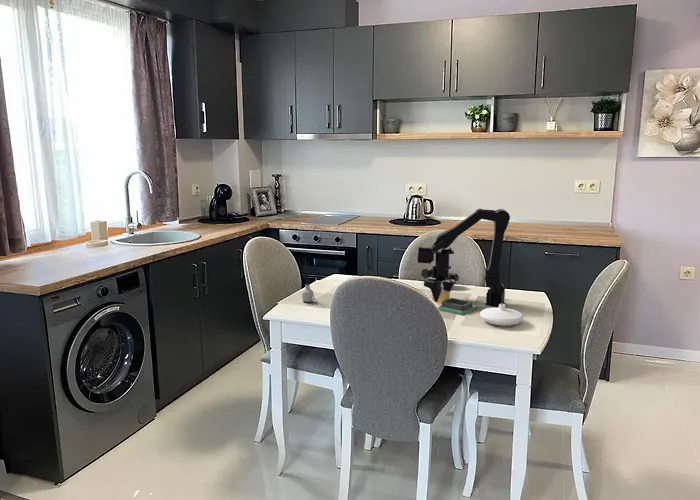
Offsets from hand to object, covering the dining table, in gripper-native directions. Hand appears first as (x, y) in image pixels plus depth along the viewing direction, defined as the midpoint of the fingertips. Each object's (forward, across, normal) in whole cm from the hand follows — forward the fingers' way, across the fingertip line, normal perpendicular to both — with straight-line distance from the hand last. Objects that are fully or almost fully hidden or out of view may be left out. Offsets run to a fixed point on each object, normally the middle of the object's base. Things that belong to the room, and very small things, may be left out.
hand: (440, 300), depth 233 cm
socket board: (+1, +4, +10) cm, 11 cm away
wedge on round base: (+1, -22, -13) cm, 26 cm away
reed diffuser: (+1, +36, -44) cm, 57 cm away
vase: (+1, +8, +31) cm, 32 cm away
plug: (+1, 0, 0) cm, 1 cm away
